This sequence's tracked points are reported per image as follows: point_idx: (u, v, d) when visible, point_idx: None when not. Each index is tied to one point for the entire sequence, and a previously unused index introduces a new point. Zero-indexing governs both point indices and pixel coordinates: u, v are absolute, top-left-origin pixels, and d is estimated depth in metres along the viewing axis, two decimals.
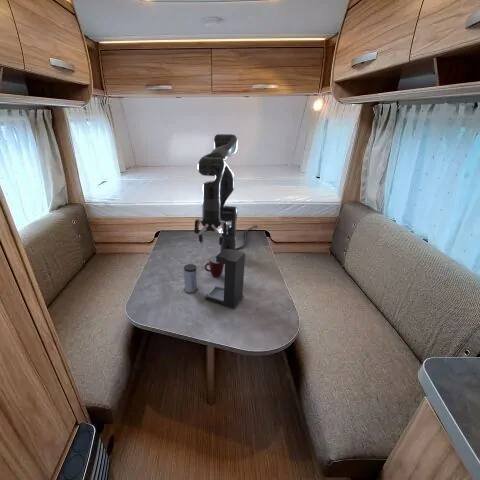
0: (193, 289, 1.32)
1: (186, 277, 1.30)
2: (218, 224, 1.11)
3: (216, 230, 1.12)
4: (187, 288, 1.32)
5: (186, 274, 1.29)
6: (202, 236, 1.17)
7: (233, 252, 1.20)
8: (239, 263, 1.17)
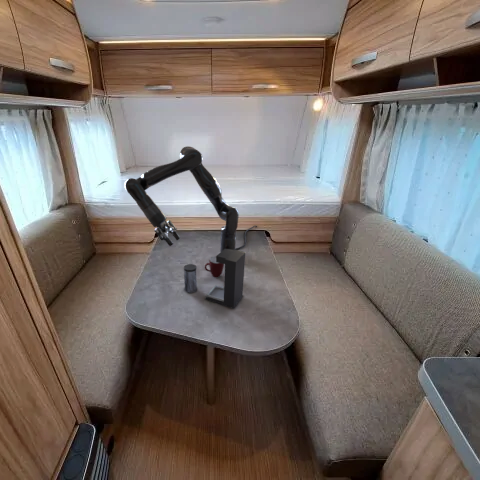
0: (193, 289, 1.32)
1: (186, 277, 1.30)
2: None
3: None
4: (187, 288, 1.32)
5: (186, 274, 1.29)
6: (175, 234, 1.32)
7: (233, 252, 1.20)
8: (239, 263, 1.17)
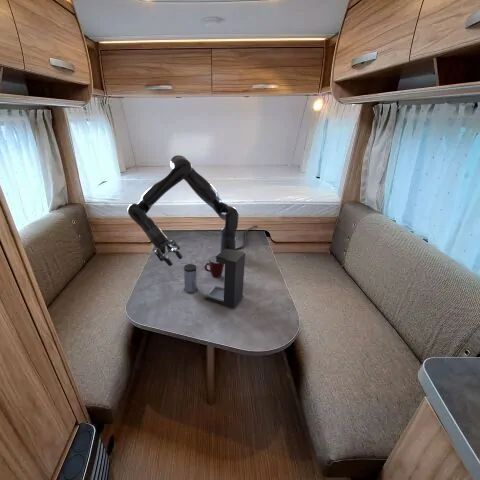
0: (193, 289, 1.32)
1: (186, 277, 1.30)
2: None
3: (163, 254, 1.32)
4: (187, 288, 1.32)
5: (186, 274, 1.29)
6: (178, 254, 1.36)
7: (233, 252, 1.20)
8: (239, 263, 1.17)
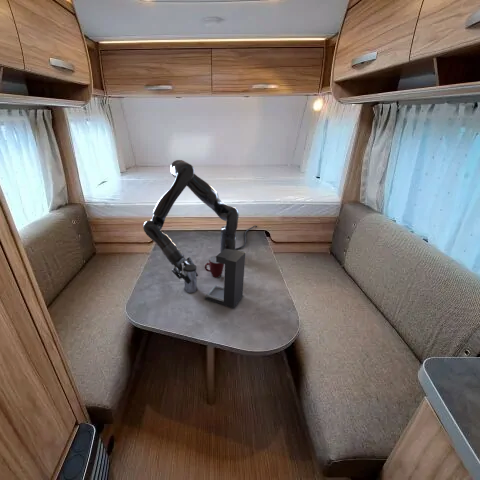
0: (193, 289, 1.32)
1: None
2: None
3: (179, 271, 1.31)
4: (187, 288, 1.32)
5: (186, 274, 1.29)
6: None
7: (233, 252, 1.20)
8: (239, 263, 1.17)
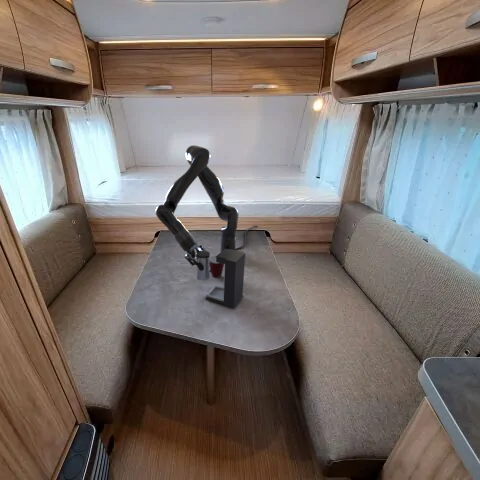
0: (206, 277, 1.28)
1: None
2: None
3: (192, 258, 1.27)
4: (200, 276, 1.27)
5: (199, 261, 1.24)
6: None
7: (233, 252, 1.20)
8: (239, 263, 1.17)
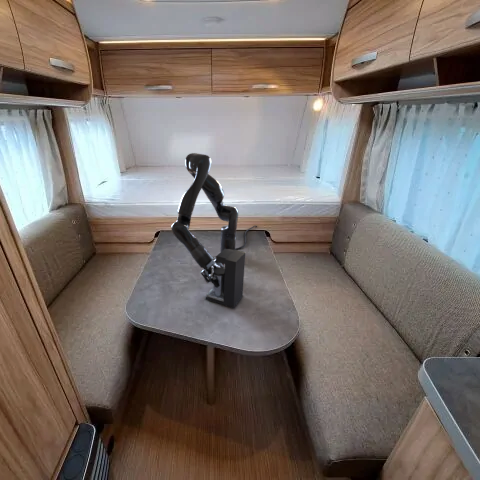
0: (222, 294, 1.27)
1: None
2: None
3: (208, 275, 1.25)
4: (216, 293, 1.26)
5: (216, 278, 1.23)
6: None
7: (233, 252, 1.20)
8: (239, 263, 1.17)
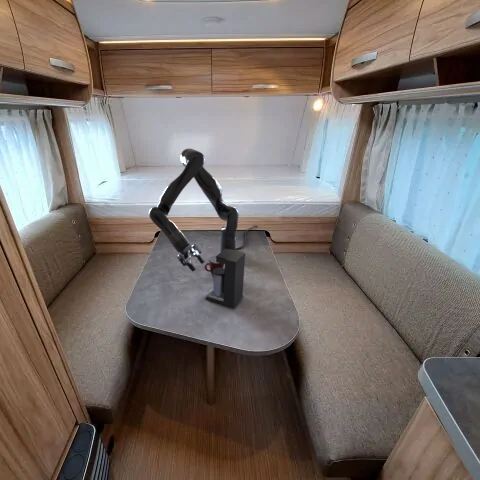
0: (222, 294, 1.27)
1: (216, 281, 1.24)
2: None
3: (185, 259, 1.29)
4: (216, 293, 1.26)
5: (216, 278, 1.23)
6: (199, 258, 1.33)
7: (233, 252, 1.20)
8: (239, 263, 1.17)
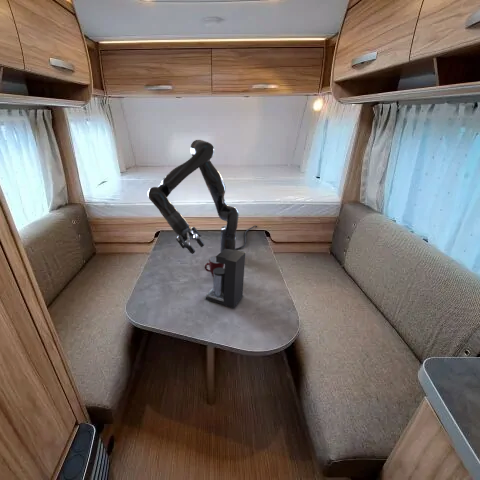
0: (222, 294, 1.27)
1: (216, 281, 1.24)
2: None
3: None
4: (216, 293, 1.26)
5: (216, 278, 1.23)
6: (199, 241, 1.29)
7: (233, 252, 1.20)
8: (239, 263, 1.17)
